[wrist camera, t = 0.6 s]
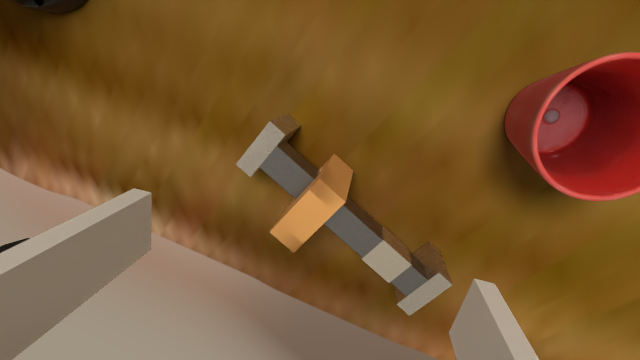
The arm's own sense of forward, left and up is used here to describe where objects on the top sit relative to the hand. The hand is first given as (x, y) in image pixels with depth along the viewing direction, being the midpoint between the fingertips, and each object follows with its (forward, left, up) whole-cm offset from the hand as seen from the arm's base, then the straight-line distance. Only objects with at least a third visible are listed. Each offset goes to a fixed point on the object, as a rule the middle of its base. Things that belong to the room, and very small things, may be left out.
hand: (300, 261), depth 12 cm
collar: (+1, -5, -24) cm, 24 cm away
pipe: (+5, -5, -25) cm, 26 cm away
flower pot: (+13, +16, -25) cm, 32 cm away
